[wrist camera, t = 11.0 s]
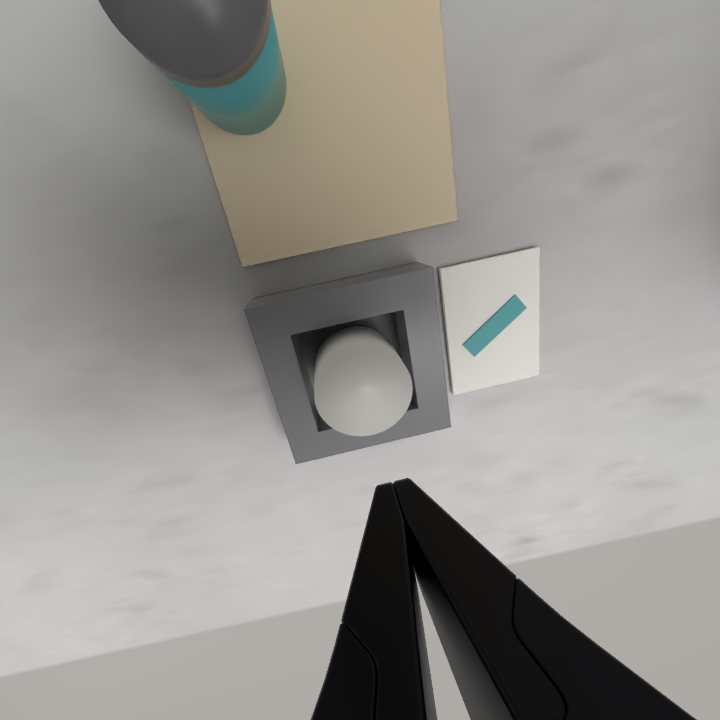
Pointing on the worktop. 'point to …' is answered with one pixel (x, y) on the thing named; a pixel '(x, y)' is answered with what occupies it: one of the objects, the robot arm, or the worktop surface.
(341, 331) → the button
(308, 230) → the paper pad
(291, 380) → the button housing
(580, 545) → the worktop surface
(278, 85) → the teal grey-topped cylinder
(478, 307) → the card
